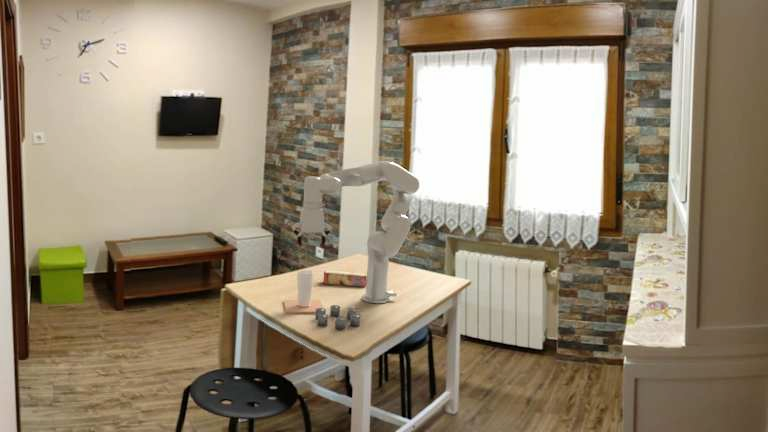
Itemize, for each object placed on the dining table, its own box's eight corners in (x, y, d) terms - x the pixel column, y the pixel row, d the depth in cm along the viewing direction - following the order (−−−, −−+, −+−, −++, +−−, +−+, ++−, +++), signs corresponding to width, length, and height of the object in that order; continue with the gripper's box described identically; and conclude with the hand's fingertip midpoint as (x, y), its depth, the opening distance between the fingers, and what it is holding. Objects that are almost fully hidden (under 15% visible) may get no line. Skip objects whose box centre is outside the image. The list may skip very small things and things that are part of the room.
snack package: (366, 284, 302) (366, 271, 301) (365, 288, 296) (366, 274, 295) (323, 281, 302) (324, 268, 301) (322, 285, 295) (323, 271, 294)
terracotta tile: (320, 302, 268) (320, 299, 267) (324, 313, 252) (324, 311, 252) (283, 302, 264) (283, 299, 264) (285, 314, 249) (286, 311, 248)
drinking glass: (296, 308, 254) (297, 273, 252) (295, 303, 261) (297, 269, 258) (312, 308, 255) (314, 273, 253) (311, 303, 262) (313, 269, 260)
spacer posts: (354, 314, 255) (354, 305, 254) (362, 330, 236) (362, 320, 236) (313, 314, 251) (314, 305, 250) (319, 330, 233) (319, 320, 232)
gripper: (331, 204, 260) (330, 243, 263) (291, 204, 256) (290, 243, 259) (334, 207, 253) (332, 247, 256) (292, 206, 249) (291, 247, 252)
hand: (311, 245), depth 257 cm, fingers open, 9 cm apart
